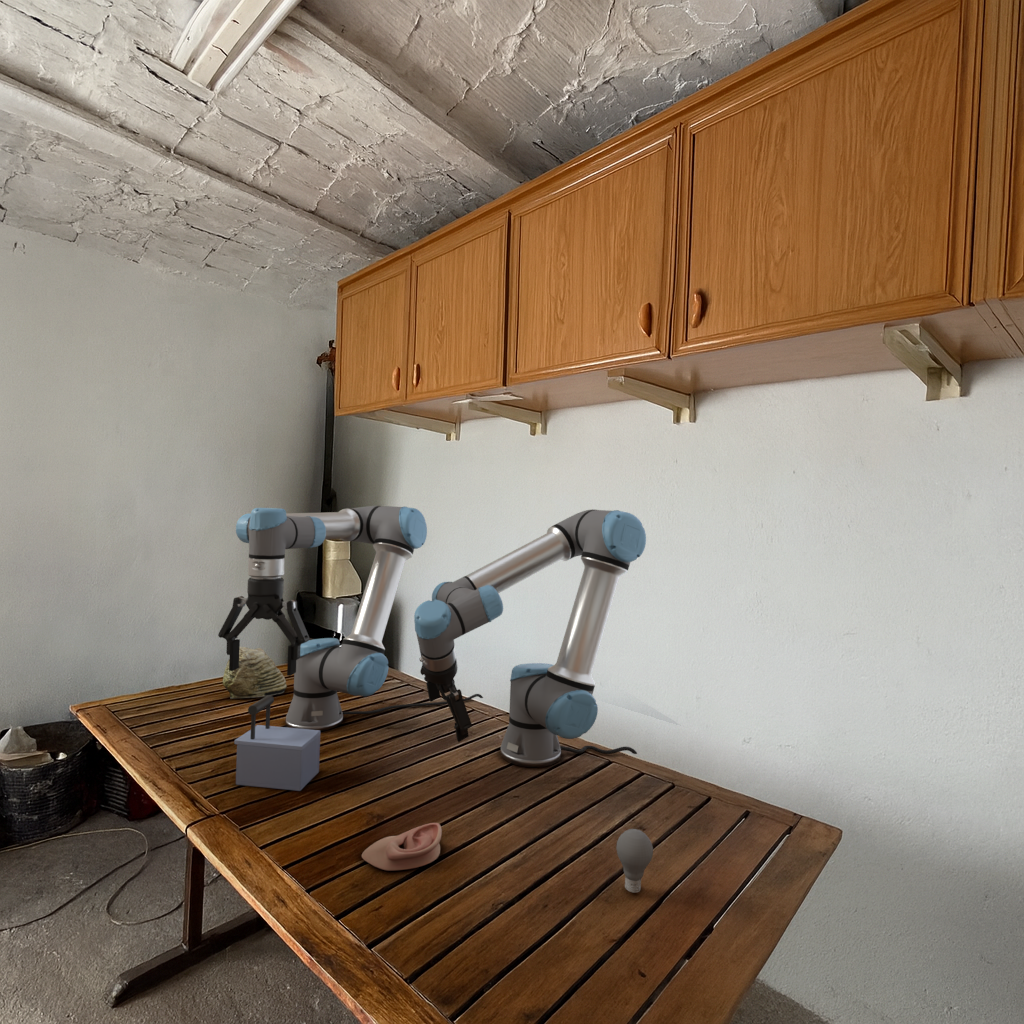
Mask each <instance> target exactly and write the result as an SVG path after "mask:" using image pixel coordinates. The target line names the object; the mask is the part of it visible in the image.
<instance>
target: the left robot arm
mask: <svg viewBox="0 0 1024 1024" xmlns="http://www.w3.org/2000/svg"><path fill="white" fill-rule="evenodd" d="M235 533H236V537H237V538H238V539H239V540H240V541H241V542H242V543H245V544H248V568H247V575H248V576H249V578H248V579H247V588H246V589H247V598H246V597H244V596H242V595H240V596H236V597H234V598H233V601H232V607H231V609H230V611H229V613H228V615H227V616H226V618H225V621H224V622H223V624H222V626H221V628H220V630H219V632H218V634H217V635H218V638H220V639H221V638H222V639H224V640H225V642H226V650H225V651H226V655H227V656H229V658H228V660H229V671H233V670H236V669H238V668H239V650H240V647H241V645H240V644H241V643H240V642H241V638H240V639H239V637H238V636H239V635H241V633H242V632H243V631H244V630H245V629H246V628H247V627H248V625H250V623H251V622H252V621H253V620H254V619H256V620H261V619H263V620H265V621H267V620H268V621H269V620H272V621H273V622H274V623H276V625H277V626H278V628H279V629H280V630H281V632H282V633H283V634H284V636H285V637H286V638H287V640H288V641H289V643H290V644H289V645H287V667H286V668H287V669H286V670H287V671H286V673H287V674H286V676H289V677H290V676H293V695H292V696H293V697H292V699H291V702H290V704H289V708H288V711H287V713H286V715H285V727H287V728H298V729H310V730H320V732H325V731H329V730H332V729H335V728H337V727H339V726H340V725H342V723H343V722H344V716H347V715H372V714H376V713H381V712H384V711H388V710H393V709H401V708H415V707H429V706H430V707H431V706H442V705H448V703H447V701H446V700H444V701H436V702H434V701H433V702H420V703H406V704H396V705H389V706H385V707H381V708H378V709H374V710H353V711H352V710H351V711H343V709H342V706H341V702H340V699H339V695H338V692H340V693H344V694H348V695H351V696H353V697H354V696H355V697H358V696H359V697H370V696H372V695H374V694H376V692H378V691H379V690H380V689H381V687H382V686H383V685H384V683H385V681H386V679H387V677H388V673H389V668H390V667H389V660H388V658H387V656H385V652H386V648H385V646H384V644H383V638H384V635H385V631H386V629H387V625H388V621H389V618H390V614H391V611H392V608H393V604H394V601H395V598H396V594H397V590H398V587H399V584H400V582H401V581H400V580H401V577H402V573H403V570H404V567H405V564H406V561H408V560H409V559H411V558H412V557H413V556H414V555H413V554H414V552H415V550H417V549H421V548H422V547H423V546H424V545H425V543H426V540H427V536H428V526H427V522H426V519H425V516H424V514H423V513H422V512H421V511H420V510H419V509H418V508H415V507H409V506H389V505H367V506H360V507H351V508H343V509H341V510H339V511H334V512H333V511H331V512H330V511H329V512H328V511H327V512H291V513H290V512H289V513H288V512H287V511H286V510H285V509H284V508H279V507H255V508H253V509H251V512H250V513H245V514H243V515H241V516H240V517H239V518H238V520H237V521H236V524H235ZM338 539H339V540H341V541H343V542H356V543H365V544H370V545H372V548H373V550H374V551H375V555H374V559H373V562H372V565H371V568H370V572H369V575H368V578H367V581H366V584H365V587H364V590H363V594H362V596H361V597H362V598H361V600H360V602H359V603H360V604H359V607H358V610H357V613H356V616H355V620H354V623H353V625H352V628H351V633H350V634H349V635H347V636H345V637H344V638H343V639H342V643H340V640H339V639H338V638H335V637H324V638H323V637H322V638H313V639H310V635H309V634H308V631H307V629H306V626H305V624H304V622H303V620H302V617H301V614H300V612H299V610H298V601H297V599H291V600H284V588H285V587H284V586H285V585H284V584H285V579H284V578H283V576H284V575H285V558H286V550H292V549H293V550H294V549H307V550H308V549H312V548H316V547H319V546H321V545H322V544H323V543H324V541H326V540H338ZM245 606H246V607H247V608H248V610H247V612H246V613H245V614H244V615H243V617H242V618H241V620H240V621H238V618H239V616H240V614H241V613H242V611H243V608H244V607H245ZM283 608H284V610H286V612H287V615H288V618H289V620H290V622H289V620H288V619H287V618H286V614H285V613H284V612H283ZM236 621H238V622H237V624H236ZM290 623H291V624H290ZM235 624H236V625H235ZM234 625H235V626H234ZM340 644H341V645H340ZM477 697H478V698H480V699H483V698H484V697H483V695H482V694H480V693H475V694H473V695H472V694H471V696H469V697H465V699H464V698H463V701H464V702H467V701H471V700H473V699H474V698H477Z"/></svg>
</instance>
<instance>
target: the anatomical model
mask: <svg viewBox="0 0 1024 1024" xmlns="http://www.w3.org/2000/svg"><path fill="white" fill-rule="evenodd" d="M442 835H443V829H442V826H441V824H440V823H439V822H430V823H425V824H422V825H419V826H417V827H414V828H412V829H410V830H407V831H404V832H402V833H399V834H397V835H389V836H385V837H383V838H381V839H379V840H377V841H375V842H373V843H372V844H370V845H369V846H368V847H367V848H366V849H364V851H362V852H361V853H362V854H361V858H362V859H363V861H365V862H366V863H368V864H370V865H371V866H373V867H375V868H377V869H379V870H384V871H387V872H389V871H390V872H391V871H403V870H412V869H416V868H419V867H423V866H426V865H428V864H431V863H433V862H434V861H435V860H437V859H439V856H440V855H441V844H440V842H441V839H442Z"/></svg>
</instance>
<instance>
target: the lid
mask: <svg viewBox="0 0 1024 1024" xmlns="http://www.w3.org/2000/svg"><path fill="white" fill-rule="evenodd" d="M274 702H275V698H274V696H273V695H272V696H271V695H268V696H265V697H262V698H261V699H259V700H258V701H256V702H254V703H253V704H250V705H249V707H248V708H247V713H248V714H249V715H250V730H248V731H246V732H245V733H243V734H242V735H240V736H239V737H237V738H236V739H234V745H249V746H260V747H271V748H282V749H293V750H303V749H304V748H305V747H306V746H307V745H308V744H309V743H311V742H312V741H313V740H314V739H315V738H316V737H318V736H319V735H320V736H321V731H320V730H310V729H298V728H288V727H287V726H276V725H275V726H274V725H271V705H272V704H274ZM265 709H266V710H265ZM263 710H265V725H264V724H263V725H262V724H257V725H256V722H257V721H256V717H257V714H259V713H260V712H262V711H263Z"/></svg>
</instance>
